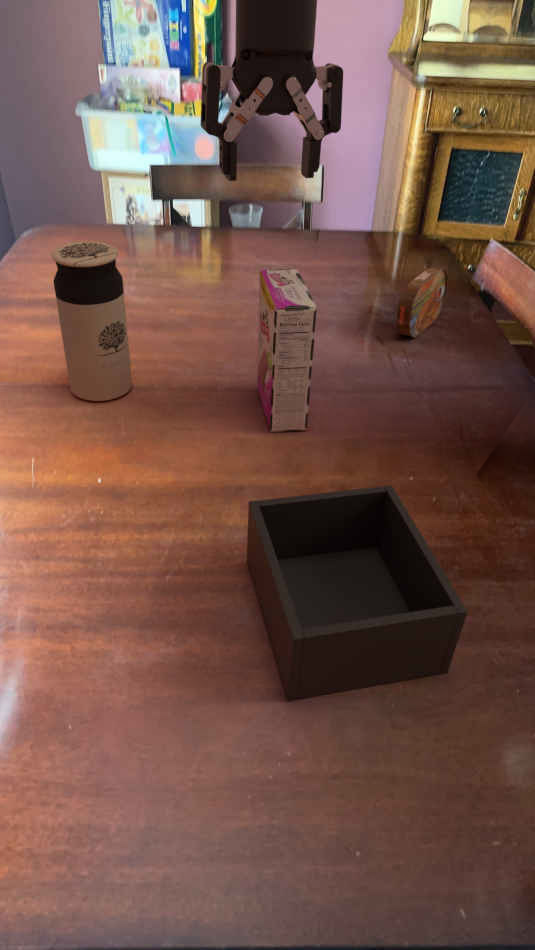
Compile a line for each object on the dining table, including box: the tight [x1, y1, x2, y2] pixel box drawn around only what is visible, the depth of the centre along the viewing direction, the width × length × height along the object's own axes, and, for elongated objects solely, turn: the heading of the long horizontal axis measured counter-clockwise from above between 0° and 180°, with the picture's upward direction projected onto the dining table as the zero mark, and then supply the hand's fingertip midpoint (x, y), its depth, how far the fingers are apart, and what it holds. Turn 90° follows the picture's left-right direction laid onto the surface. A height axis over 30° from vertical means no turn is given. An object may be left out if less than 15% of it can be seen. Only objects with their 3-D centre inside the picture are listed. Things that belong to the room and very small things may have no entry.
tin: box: [395, 267, 449, 339], centre depth 106 cm, size 15×3×8 cm, turn 147°
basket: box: [246, 484, 469, 702], centre depth 58 cm, size 14×16×8 cm
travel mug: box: [51, 240, 133, 402], centre depth 83 cm, size 8×8×18 cm
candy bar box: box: [256, 268, 318, 433], centre depth 82 cm, size 11×5×16 cm, turn 9°
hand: (269, 177), depth 72 cm, fingers open, 8 cm apart
